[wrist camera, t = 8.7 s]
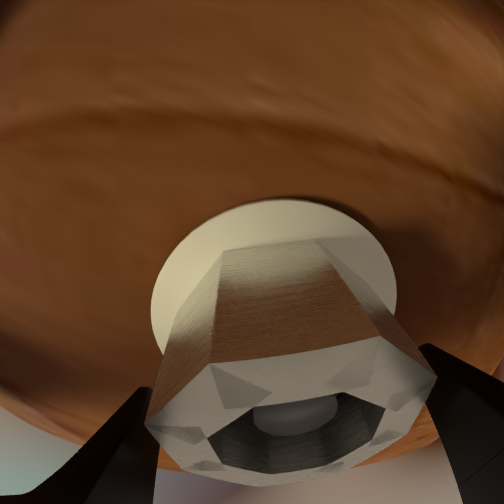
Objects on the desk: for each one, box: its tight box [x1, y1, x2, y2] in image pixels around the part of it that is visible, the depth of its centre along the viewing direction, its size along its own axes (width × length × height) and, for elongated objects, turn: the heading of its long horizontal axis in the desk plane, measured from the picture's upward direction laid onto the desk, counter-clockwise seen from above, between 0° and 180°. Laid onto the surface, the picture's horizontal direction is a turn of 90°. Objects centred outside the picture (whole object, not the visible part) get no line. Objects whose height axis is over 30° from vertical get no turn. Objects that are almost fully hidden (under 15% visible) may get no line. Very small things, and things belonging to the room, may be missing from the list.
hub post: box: [151, 198, 397, 436], centre depth 9 cm, size 10×10×5 cm
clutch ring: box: [144, 239, 438, 487], centre depth 8 cm, size 7×7×5 cm
